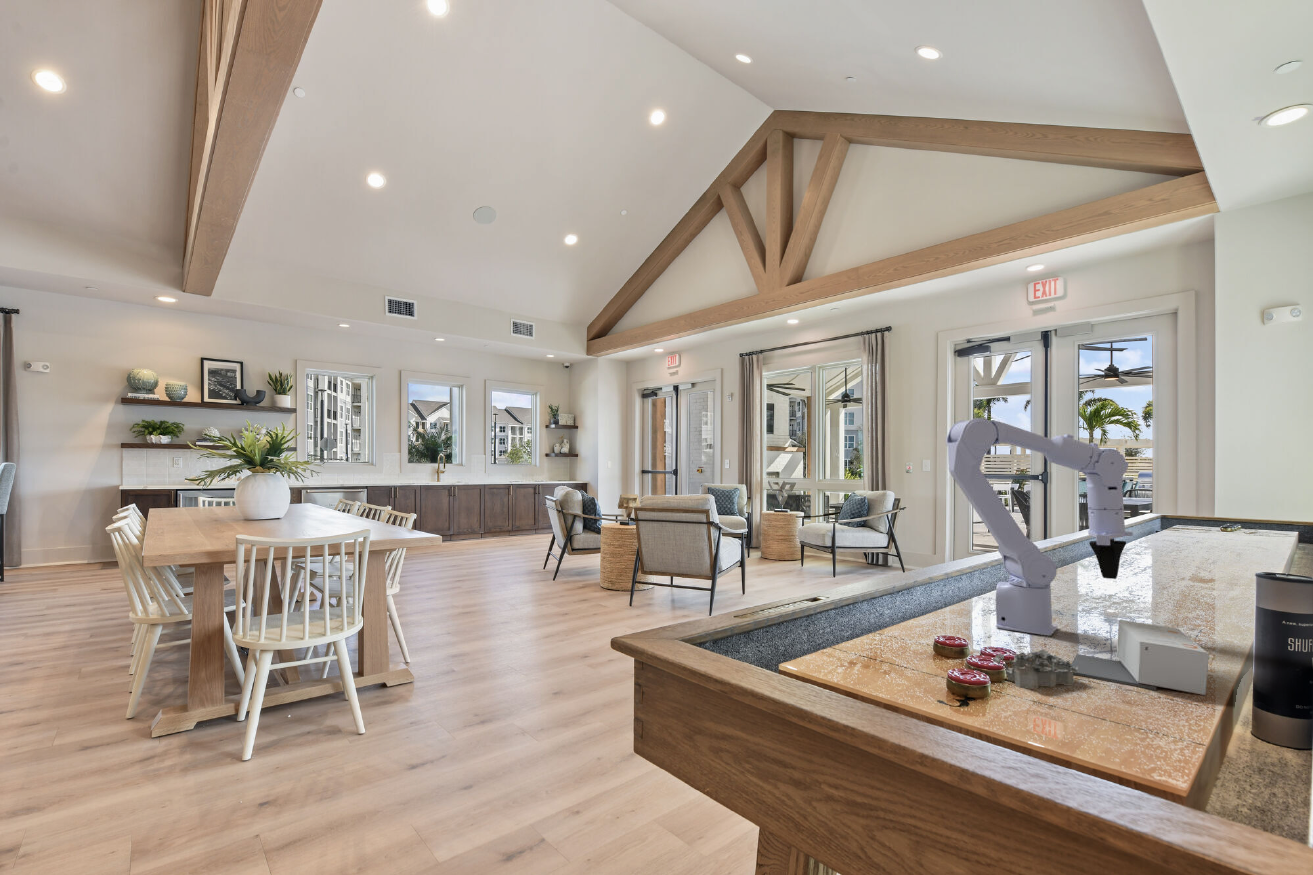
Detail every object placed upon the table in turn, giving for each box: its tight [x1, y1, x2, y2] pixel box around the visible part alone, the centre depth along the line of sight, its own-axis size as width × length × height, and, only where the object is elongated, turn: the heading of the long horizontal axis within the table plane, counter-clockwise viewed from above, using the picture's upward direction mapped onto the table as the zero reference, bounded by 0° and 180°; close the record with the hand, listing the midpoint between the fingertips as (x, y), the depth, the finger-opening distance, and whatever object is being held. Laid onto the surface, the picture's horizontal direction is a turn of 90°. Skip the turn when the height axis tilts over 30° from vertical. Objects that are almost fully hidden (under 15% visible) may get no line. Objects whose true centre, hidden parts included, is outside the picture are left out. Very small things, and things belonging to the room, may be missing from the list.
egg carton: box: [992, 649, 1079, 690], centre depth 95 cm, size 10×7×4 cm
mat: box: [1070, 653, 1158, 691], centre depth 97 cm, size 11×11×1 cm
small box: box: [1116, 619, 1210, 696], centre depth 95 cm, size 8×6×13 cm
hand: (1109, 577), depth 121 cm, fingers closed
